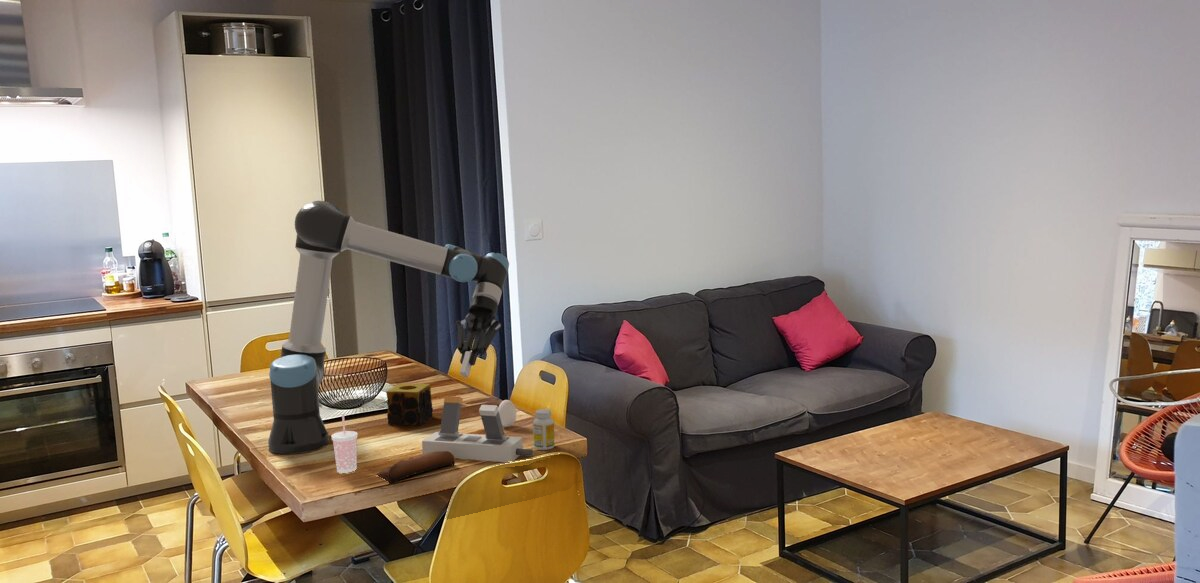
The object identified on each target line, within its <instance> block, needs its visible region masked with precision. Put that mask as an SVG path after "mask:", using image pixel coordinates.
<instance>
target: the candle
mask: <svg viewBox="0 0 1200 583" xmlns="http://www.w3.org/2000/svg"><path fill="white" fill-rule="evenodd" d="M431 388H432V386H431V384H430V383H399V384H397V385H395V386H393V387H392V388H390V389H388V390H386V391H385V392H386V393H385V394H386V398H387V400H386V401H387V402H386V404H387V414H386V417H387V425H389V426H414V427H420V426H422V425H423V424H425V423H426V422H427V421H429V420H430V419H431V418H433V410H434V408H433V401H432V394H431V393H432V390H431Z"/></svg>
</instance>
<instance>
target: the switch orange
mask: <svg viewBox="0 0 1200 583" xmlns="http://www.w3.org/2000/svg"><path fill="white" fill-rule="evenodd" d="M463 400H464V398H463V397H460V396H452V395H451V396H450V395H444V398H443V408H442V416H441V422H440V423H441V424H440V430H438V431H437V432H438V435H439V436H454V437H458V436H459V433H460V431H459V426H460V419H461V418H460V417H461V411H462V405H463Z"/></svg>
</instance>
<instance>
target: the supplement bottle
mask: <svg viewBox="0 0 1200 583" xmlns="http://www.w3.org/2000/svg"><path fill="white" fill-rule="evenodd" d="M534 415H535V417H536V418H534V419H533V421H532V425H533V426H532V427H533V428H532V429H533V431H532V432H533V435H532V438H533V448H534V449H535V450H538V451H546V450H547V451H548V450H552V449H553V448H554V447H555V420H554V419H553V418H552V410H550V409H548V408H542V409H541V408H540V409H537V410H535V414H534Z"/></svg>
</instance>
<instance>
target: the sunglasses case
mask: <svg viewBox="0 0 1200 583" xmlns="http://www.w3.org/2000/svg"><path fill="white" fill-rule="evenodd" d="M452 464H453V465H452ZM455 464H456V459H455V458H454V456H453V454H452V453H451V452H449V451H435V452H430V453H426V454H423V453H422V454H420V455H418V456H415V457H413V456H412V457H409V458H407V459H402V460H399V461H397V462H395V463H394V464H392V465H391V466H388V467H386V468H384V469H382V470H380V471H378V472H377V473H376V474H375V475H378V476H379V477H381V478H383V479H385V480H386V481H388V482H389V484H391V483H394V482H397V481H399V480H403V479H406V478H408V477H411V476H413V475H415V474H419V473H423V472H424V473H425V472H428V471H430V470H434V469H435V470H436V469H439V468H442V467H446V466H449V465H452V466H455ZM379 477H378V478H379ZM386 481H385V482H386ZM388 482H387V483H388Z"/></svg>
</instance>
